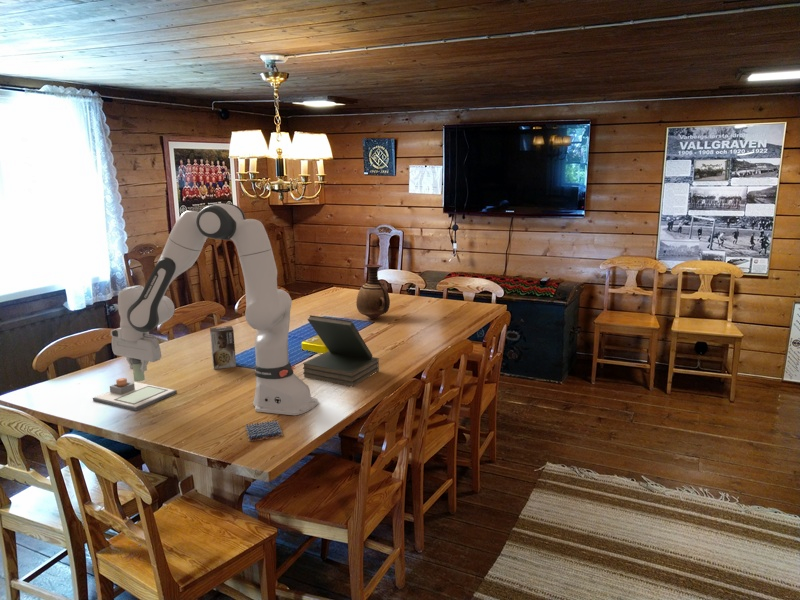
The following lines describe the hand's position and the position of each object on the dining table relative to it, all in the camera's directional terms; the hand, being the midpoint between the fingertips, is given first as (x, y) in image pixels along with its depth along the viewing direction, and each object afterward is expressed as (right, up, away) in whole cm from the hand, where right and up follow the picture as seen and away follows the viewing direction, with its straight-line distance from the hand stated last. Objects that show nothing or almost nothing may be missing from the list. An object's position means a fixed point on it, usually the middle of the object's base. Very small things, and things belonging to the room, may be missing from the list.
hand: (138, 369), depth 202 cm
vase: (+77, +14, +115) cm, 139 cm away
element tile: (+57, +2, +61) cm, 83 cm away
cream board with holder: (-3, -10, +4) cm, 11 cm away
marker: (0, -4, +1) cm, 4 cm away
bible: (+69, -6, +27) cm, 74 cm away
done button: (-8, -6, +6) cm, 12 cm away
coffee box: (+19, -3, +37) cm, 42 cm away
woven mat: (+50, -17, -25) cm, 58 cm away
